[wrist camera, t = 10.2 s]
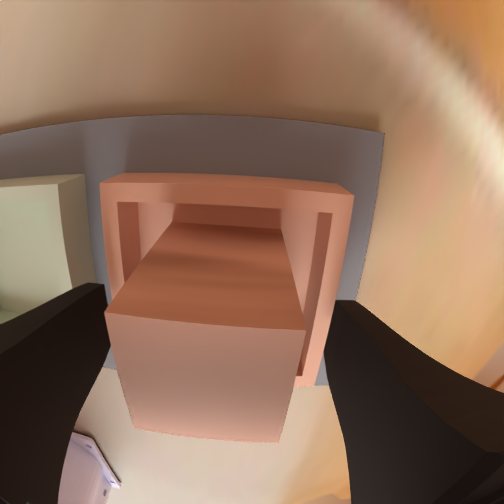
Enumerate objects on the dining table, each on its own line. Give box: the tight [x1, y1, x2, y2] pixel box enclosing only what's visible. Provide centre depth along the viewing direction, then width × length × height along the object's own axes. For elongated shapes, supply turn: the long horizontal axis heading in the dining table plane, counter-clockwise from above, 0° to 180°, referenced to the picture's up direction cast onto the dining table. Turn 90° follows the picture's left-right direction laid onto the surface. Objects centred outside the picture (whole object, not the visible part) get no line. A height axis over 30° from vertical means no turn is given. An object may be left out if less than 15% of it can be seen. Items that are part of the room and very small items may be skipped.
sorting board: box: [0, 115, 385, 386], centre depth 11 cm, size 12×20×3 cm, turn 86°
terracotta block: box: [104, 222, 306, 443], centre depth 9 cm, size 4×4×6 cm
